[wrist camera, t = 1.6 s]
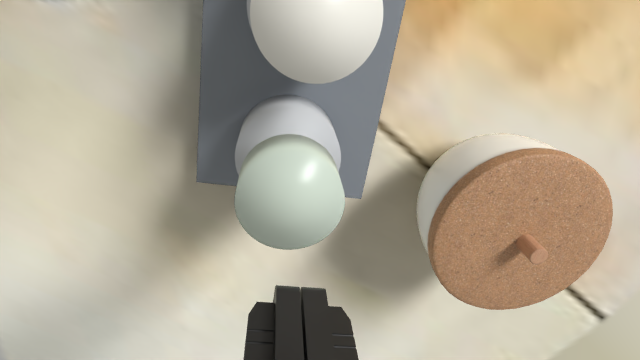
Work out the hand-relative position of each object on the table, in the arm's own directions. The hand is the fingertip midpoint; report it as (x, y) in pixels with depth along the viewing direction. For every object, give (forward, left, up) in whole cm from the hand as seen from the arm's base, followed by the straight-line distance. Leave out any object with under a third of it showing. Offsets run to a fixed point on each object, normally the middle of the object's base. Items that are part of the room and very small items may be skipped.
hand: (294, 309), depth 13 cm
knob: (0, 0, -9) cm, 9 cm away
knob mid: (-8, 0, -9) cm, 12 cm away
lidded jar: (+2, +14, -17) cm, 22 cm away
